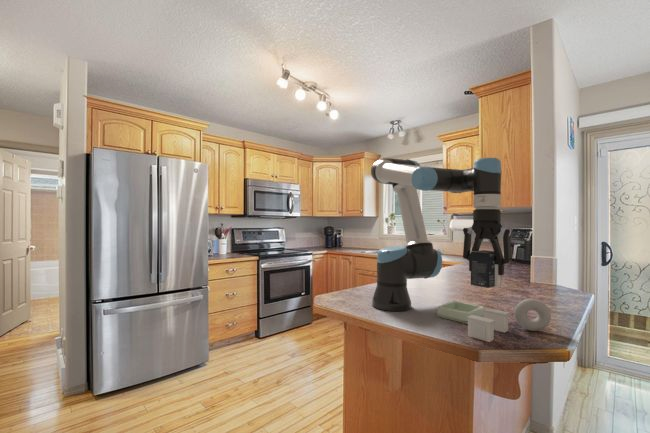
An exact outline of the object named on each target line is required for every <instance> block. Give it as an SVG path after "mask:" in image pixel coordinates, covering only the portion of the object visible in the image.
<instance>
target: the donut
mask: <svg viewBox="0 0 650 433" xmlns="http://www.w3.org/2000/svg"><path fill="white" fill-rule="evenodd" d="M532 310H533V311H536V312H537V317H536V318H534V319H530V318H528V313H529V311H532ZM513 315H514V319H515V321H516V322H517V324H518V325H519V326H520V327H521V328H523V329H525V330H527V331H530V332H539V331H542V330H544V329H546V328H547V327H548V326H549V325H550V323H551V320H552V314H551V310H550V308H549V306H547V304H545V303H544V302H543V301H541V300H539V299H535V298H525V299H522V300H521V301H519V302H518V303H517V305H516V306H515V308H514V312H513Z"/></svg>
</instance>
